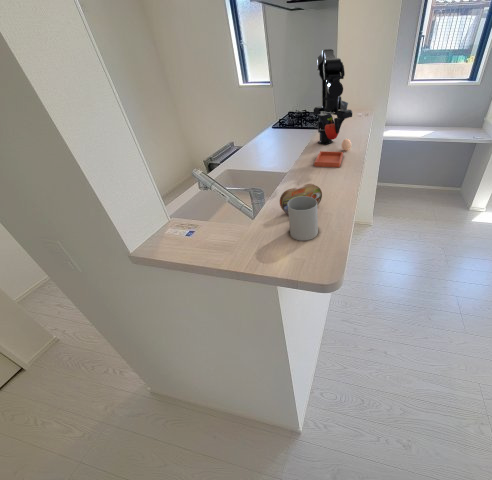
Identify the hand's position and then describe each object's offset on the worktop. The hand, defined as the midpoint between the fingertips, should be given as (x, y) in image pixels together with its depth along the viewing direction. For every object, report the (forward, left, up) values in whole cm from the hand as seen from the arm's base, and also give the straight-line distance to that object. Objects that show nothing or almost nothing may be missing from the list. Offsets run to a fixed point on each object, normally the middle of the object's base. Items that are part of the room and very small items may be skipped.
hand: (331, 132), depth 123 cm
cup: (+37, -52, -13) cm, 65 cm away
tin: (+27, -43, -13) cm, 52 cm away
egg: (-3, +14, -13) cm, 19 cm away
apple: (0, 0, -3) cm, 3 cm away
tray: (+1, -3, -12) cm, 13 cm away
